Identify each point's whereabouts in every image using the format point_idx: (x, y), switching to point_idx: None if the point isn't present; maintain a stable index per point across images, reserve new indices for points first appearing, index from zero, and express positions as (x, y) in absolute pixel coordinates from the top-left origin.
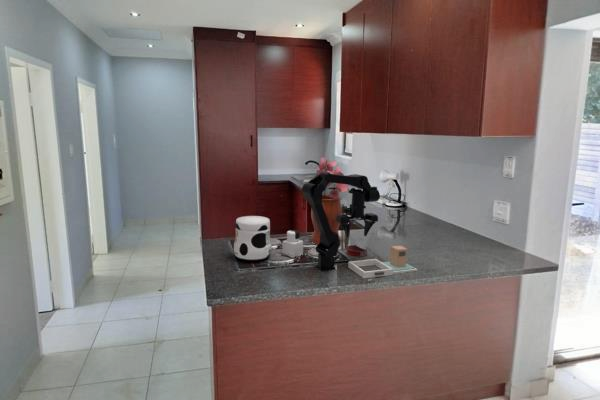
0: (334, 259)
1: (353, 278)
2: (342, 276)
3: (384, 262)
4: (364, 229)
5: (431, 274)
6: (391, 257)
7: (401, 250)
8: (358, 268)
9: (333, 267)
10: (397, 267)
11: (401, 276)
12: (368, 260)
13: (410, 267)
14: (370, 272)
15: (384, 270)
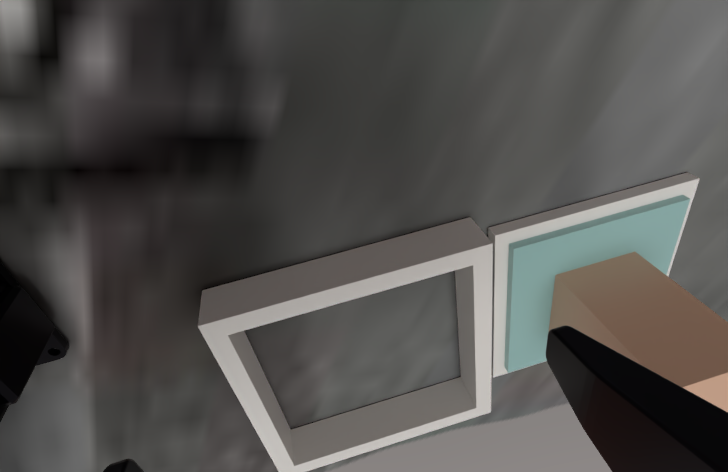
0: (23, 386)
1: (212, 450)
2: (137, 439)
3: (534, 253)
4: (667, 438)
5: None
6: (589, 327)
7: None
8: (260, 435)
9: (48, 345)
10: None
11: (505, 391)
12: (405, 283)
13: None
14: (327, 459)
15: (427, 431)
